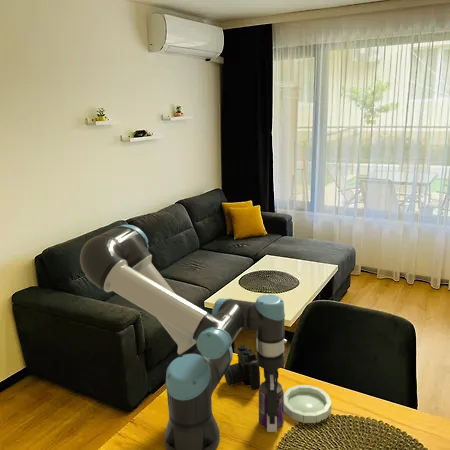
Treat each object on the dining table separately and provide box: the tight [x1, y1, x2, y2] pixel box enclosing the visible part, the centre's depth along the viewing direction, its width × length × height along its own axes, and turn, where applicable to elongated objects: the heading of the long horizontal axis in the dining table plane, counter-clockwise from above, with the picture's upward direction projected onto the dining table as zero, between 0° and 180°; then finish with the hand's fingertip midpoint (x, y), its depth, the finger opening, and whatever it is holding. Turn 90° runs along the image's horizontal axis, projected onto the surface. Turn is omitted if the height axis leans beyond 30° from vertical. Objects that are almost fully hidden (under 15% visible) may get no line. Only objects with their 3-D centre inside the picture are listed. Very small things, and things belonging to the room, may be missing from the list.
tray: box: [284, 384, 332, 424], centre depth 131 cm, size 14×14×2 cm
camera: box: [224, 344, 261, 391], centre depth 144 cm, size 14×11×10 cm
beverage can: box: [258, 380, 285, 430], centre depth 124 cm, size 7×7×12 cm
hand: (271, 421), depth 125 cm, fingers closed on beverage can, 7 cm apart
